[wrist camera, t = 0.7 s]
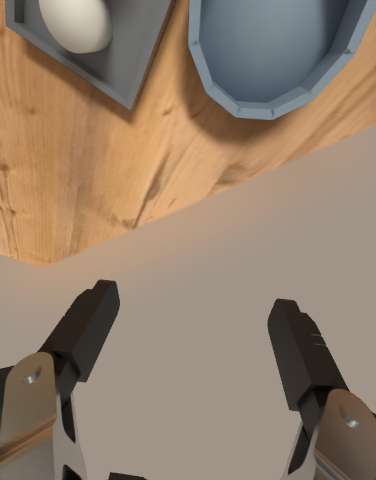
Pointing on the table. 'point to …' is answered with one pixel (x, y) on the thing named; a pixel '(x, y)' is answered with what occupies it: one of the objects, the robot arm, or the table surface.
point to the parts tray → (115, 55)
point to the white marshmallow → (79, 23)
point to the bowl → (273, 50)
